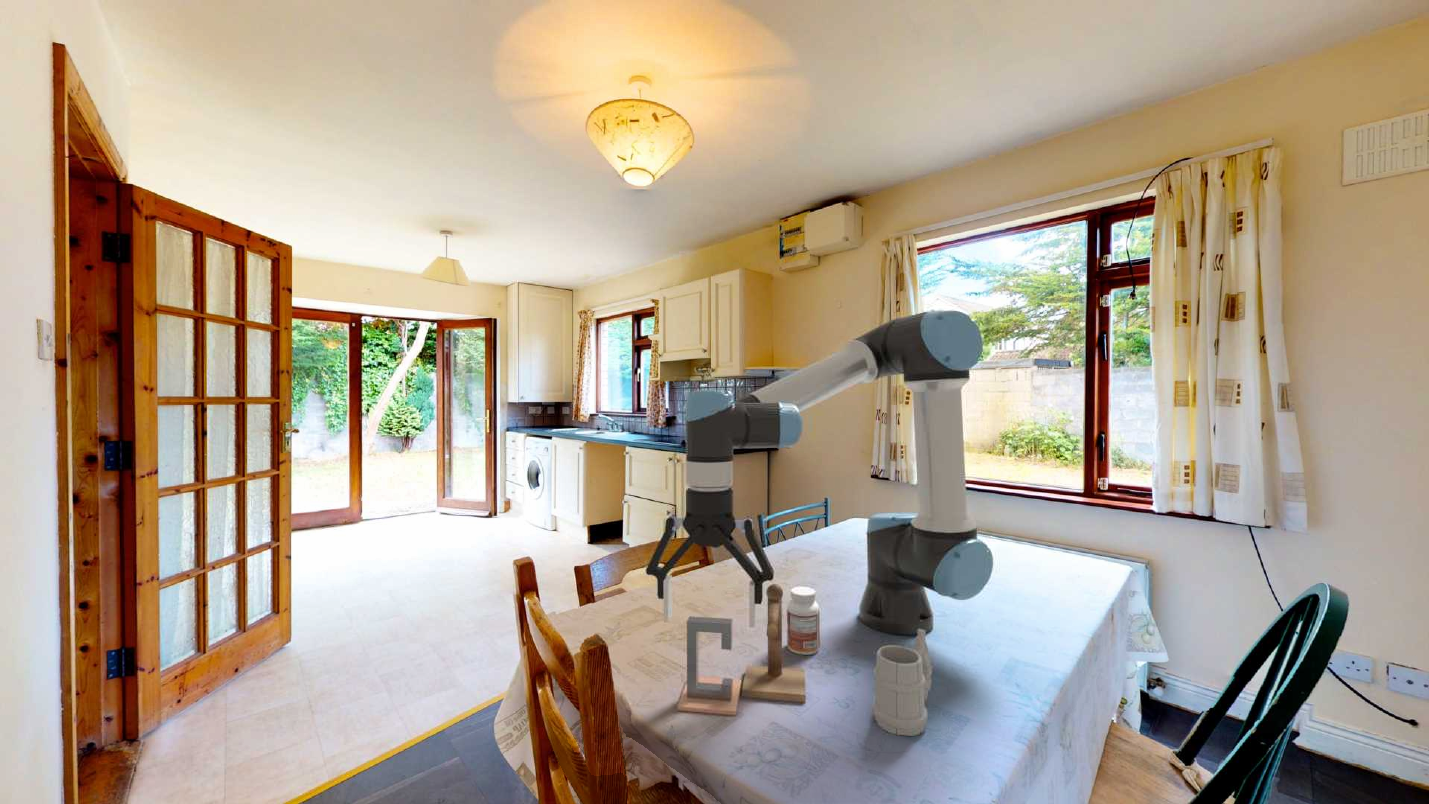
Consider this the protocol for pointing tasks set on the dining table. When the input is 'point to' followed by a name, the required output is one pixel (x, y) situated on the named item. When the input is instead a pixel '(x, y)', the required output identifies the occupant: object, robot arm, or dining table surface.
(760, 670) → the hook stand
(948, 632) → the dining table surface
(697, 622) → the c link
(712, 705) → the tile
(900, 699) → the mug
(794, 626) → the pill bottle
